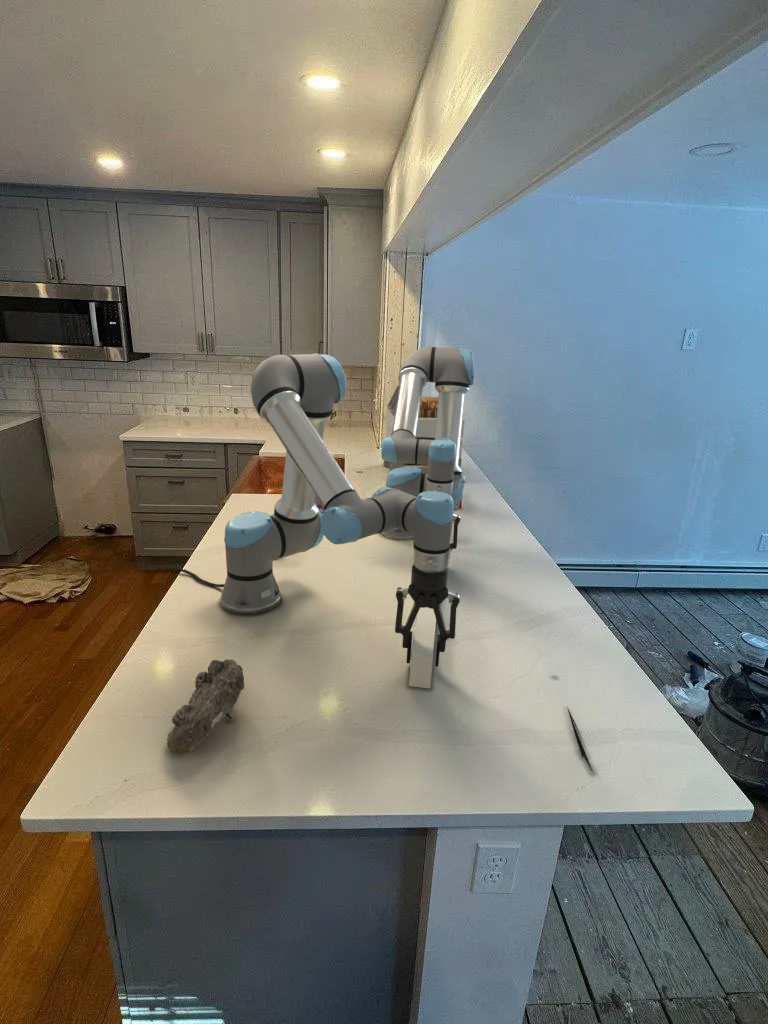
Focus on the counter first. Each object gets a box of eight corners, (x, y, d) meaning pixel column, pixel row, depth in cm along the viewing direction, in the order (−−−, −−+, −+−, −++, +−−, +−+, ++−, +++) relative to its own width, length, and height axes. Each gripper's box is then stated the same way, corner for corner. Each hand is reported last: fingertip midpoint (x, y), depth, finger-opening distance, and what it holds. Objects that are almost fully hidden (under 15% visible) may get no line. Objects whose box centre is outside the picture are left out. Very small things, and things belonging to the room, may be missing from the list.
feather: (555, 681, 125) (561, 675, 124) (592, 776, 98) (600, 769, 98) (549, 677, 125) (554, 671, 124) (584, 771, 98) (592, 764, 98)
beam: (426, 562, 178) (428, 539, 175) (440, 564, 178) (442, 541, 175) (408, 686, 119) (411, 654, 117) (430, 688, 119) (432, 656, 116)
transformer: (382, 463, 289) (386, 382, 275) (445, 464, 293) (451, 384, 279) (390, 482, 257) (394, 392, 243) (460, 483, 261) (468, 394, 247)
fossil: (192, 660, 117) (244, 628, 112) (224, 691, 120) (276, 661, 115) (142, 746, 98) (202, 712, 93) (182, 779, 101) (242, 748, 96)
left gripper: (383, 569, 115) (378, 666, 122) (475, 578, 113) (464, 676, 120) (387, 554, 122) (383, 647, 129) (474, 562, 120) (464, 656, 127)
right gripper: (405, 495, 160) (401, 570, 168) (471, 501, 158) (464, 576, 166) (408, 488, 167) (403, 559, 175) (471, 493, 165) (464, 565, 173)
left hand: (422, 661), depth 125 cm, fingers open, 5 cm apart
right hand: (433, 567), depth 171 cm, fingers open, 5 cm apart
